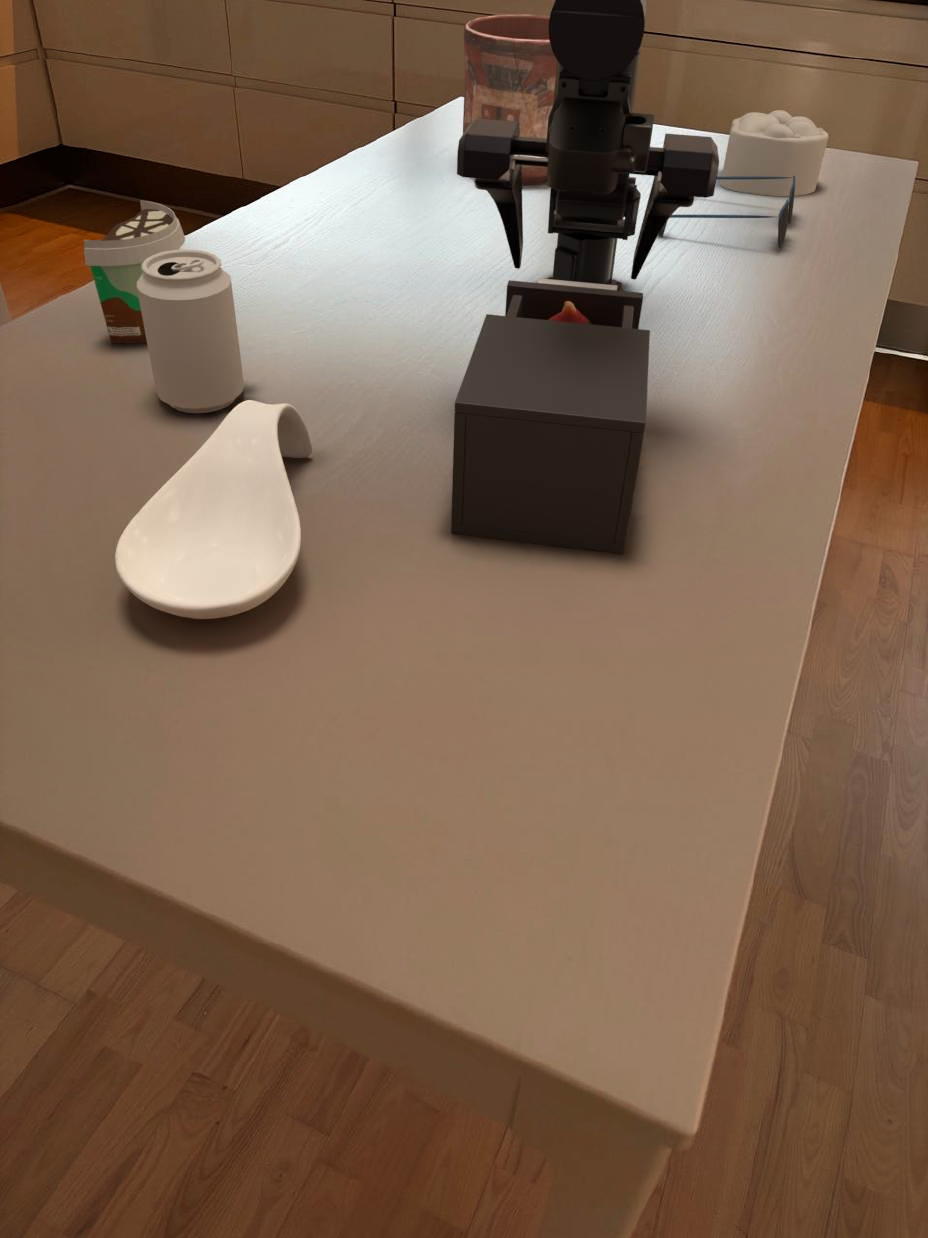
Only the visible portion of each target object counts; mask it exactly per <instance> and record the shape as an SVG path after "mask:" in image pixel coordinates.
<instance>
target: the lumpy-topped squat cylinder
mask: <svg viewBox="0 0 928 1238" xmlns="http://www.w3.org/2000/svg"><path fill="white" fill-rule="evenodd" d="M728 136H729V137H728V141H727V145H726V146H727V147H726V152H725V156H724V157H725V158H724V163H723V167H722V168H723V169H722V173H721V176H770V177H791V178H785V179H720V183H719V185H720V186H721V187H722V188H724V189H727V190H730V191H733V192H739V193H746V194H752V195H762V196H772V197H789V195H790V190H791V187H792V184H793V179H794V178H793V176H795V192H794V197H796V196H797V197H798V196H806V195H809V194H812V193H814V192H815V191H816V188H817V185H818V180H819V176H820V173H821V169H822V166H823V159H824V156H825V152H826V149H827V144H828V141H829V133H828V132H827V131H825V130H824V128H822V127H817V126H816V124H815V123H814V122H813V121H812V120H811V119H810V118H808V117H805V116H802V115H801V116H792V115H791V114H790V113H789V112H787V111H785V110H783V109H782V110H781V109H778V110H773V111H771V112H770V113H763V112H755V111H754V112H753V111H752V112H748V113H745V114H744V115H742V116H741V117H738V118H735V119H733V120H732V122H731V127H730V131H729V135H728Z"/></svg>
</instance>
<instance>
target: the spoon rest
mask: <svg viewBox="0 0 928 1238" xmlns="http://www.w3.org/2000/svg"><path fill="white" fill-rule="evenodd" d="M312 452H313V448H312V442H311V438H310V434H309V431H308V429H307V426H306V423H305V421H304V419H303V418H302V416H301V414H300V412H299V411H298V410H297V409H296V407H294V406H293V405H292V404H290V403H283V402H282V403H276V404H269V403H264V402H260V401H258V400H253V399H247V400H244V401H242V402H239V403H238V404H236V406H235V407H233V408H232V410H231V411H230V412H229V413H227V415H226V416H225V417H224V419H223V420H222V421H221V423H220V424H219V425H218V426H217V428H216V429H215V430H214V432H213V433H212V434H211V435H210V436H209V437H208V438H207V440H206V441H205V442H204V443H203V444H202V445H201V447H200V448H199V449H198V450H197V451H196V452H195V453H194V454H193V455H192V456H191V457H190V458H189V459H188V460H187V461H186V462H185V463H184V464H183V466H181V468H179V469H178V470H177V471H176V473H174V474H173V476H171V477H170V478H169V479H168V480H167V481H166V482H165V483H164V484H163V485H162V486H161V488H159V489H158V490H157V491H156V493H154V494H153V496H152V497H151V498H150V499H148V501H146V503H145V504H143V506H142V507H141V508H140V510H139V511H138V512H137V513H136V514H135V515H134V517H132V519H130V521H129V523H128V524H127V525H126V526H125V528H124V530H123V532H122V533H121V536H120V537H119V539H118V541H117V544H116V549H115V554H114V563H115V570H116V572H117V575H118V577H119V579H120V580H121V583H122V584H123V585H124V586H125V588H126V589H127V591H129V592H130V593H131V594H132V595H133V596H135V597H136V598H137V599H139V600H140V602H143V603H144V604H147V606H150V607H152V608H154V609H156V610H158V611H161V612H163V613H167V614H170V615H174V616H176V617H182V618H187V619H195V620H210V619H211V620H212V619H221V618H227V617H231V616H235V615H238V614H243V613H245V612H248V611H250V610H252V609H254V608H256V607H258V606H260V605H261V604H263V603H265V602H266V601H267V600H269V599H270V598H272V596H274V595H275V594H276V593H277V592H278V591H279V590H280V589H281V588H282V586H283V585H284V584H285V583H286V581H287V580H288V578H289V577H290V576H291V573H292V572H293V570H294V568H295V567H296V564H297V562H298V559H299V556H300V551H301V545H302V529H301V520H300V516H299V511H298V508H297V504H296V500H295V497H294V494H293V489H292V487H291V483H290V481H289V478H288V473H287V471H286V467H285V464H284V460H283V458H291V459H304V458H305V459H306V458H308V457H310V456H311V455H312Z"/></svg>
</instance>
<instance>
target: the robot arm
mask: <svg viewBox="0 0 928 1238" xmlns="http://www.w3.org/2000/svg"><path fill="white" fill-rule="evenodd" d="M552 5H553V6H552V8H551V11H550V14H549V16H550V18H549V26H548V27H549V41H550V44H551V48H552V51H553V53H554V55H555V57H556V59H557V66H556V78H555V90H554V102H553V107H552V109H551V112H550V114H549V117H548V128H547V139H545V138H532V137H520V126H519V122H513V121H500V120H488V119H475V120H474V121H473V122H472V123H471V124H470V125H469V126H468V127H467V128H466V130H465V132H464V133H463V132H462V135H461V137H460V138H459V140H458V145H457V153H456V158H457V159H456V175H457V176H460V177H462V178H467V179H474V187H475V188H476V189H477V190H479V191H480V190H481V191H486V192H487V193H488V194H489V196H490V197H491V198H492V201H493V202H494V204H495V207H496V209H497V211H498V213H499V216H500V219H501V222H502V225H503V229H504V234H505V236H506V240H507V243H508V249H509V251H510V256H511V260H512V263H513V267H514V268H515V269H517V270H519V269H521V266H522V261H523V260H522V259H523V250H524V225H523V224H524V221H523V217H524V216H523V215H524V214H523V185H522V165H529V166H541V167H548V168H547V183H546V184H547V185H548V187H550V191H549V206H548V207H549V208H548V223H547V224H548V226H547V234H557V241H556V247H555V248H554V257H553V267H552V276H550V277H547V278H546V279H552V280H563V281H573V282H584V283H595V284H605V285H616V286H617V290H618V291H620V290H622V289H623V285H624V283H623V282H622V281H619V280H616V279H613V275H614V270H615V269H614V267H615V260H616V253H617V252H616V250H617V245H618V240H619V239H620V240H622V241H628V239H629V237H633V236H635V234H636V228H637V221H638V215H639V210H640V209H639V208H640V202H641V192H640V191H639V190H638V185H637V184H636V181H637V177H634V176H633V177H632V176H630V175H639V176H651V177H653V179H652V184H651V188H650V192H649V196H648V200H647V204H646V208H645V210H644V215H643V218H642V222H641V226H640V230H639V233H638V238H637V241H636V244H635V249H634V253H633V260H632V266H631V272H630V273H631V274H630V279H631V280H637V278H638V276H639V274H640V272H641V270H642V268H643V266H644V265H645V262H646V260H647V258H648V256H649V254H650V253H651V250H652V247H653V246H654V243H655V242H656V240H657V238H658V237H659V236H658V234H659V232H660V231H661V229H662V228H663V226H664V225H665V223H666V222H667V223H668V221H669V219H670V218H669V217H670V216H671V215H674V214H675V212H676V211H677V210H678V209H679V208H690V207H692V206H693V205H694V201H695V198H705V199H706V198H710V197H714V195H715V190H716V185H717V180H718V179H717V176H718V174H719V166H720V156H719V150H718V149H719V148H718V145H717V143H716V142H715V141H714V139H713V138H712V136H702V135H690V134H680V133H679V134H677V133H665V134H664V139H663V145H662V147H655V146H651V141H652V136H653V128H654V122H655V121H654V120H655V114H651V113H639V112H634V105H635V104H634V103H635V98H636V91H637V90H636V89H637V82H638V75H639V69H640V59H641V51H642V45H643V38H644V34H645V28H646V27H645V26H646V16H647V6H648V0H554V3H553V4H552ZM667 220H668V221H667Z"/></svg>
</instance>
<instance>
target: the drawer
mask: <svg viewBox="0 0 928 1238" xmlns="http://www.w3.org/2000/svg"><path fill="white" fill-rule="evenodd" d="M505 298H506V299H505V311H504V316H510V317H520V318H530V319H540V320H549V319H550V318H551V317H553V316H555V315H556V314H558V313H560V312H562V310H563V307H564V303H565V301H570V302H572V303H573V304H574V307H575V308H576V309H577V310H578V311H579V312H580V313H581V314H582V315H583V316H585V317H586V318H587V319H588V320H589V321H590V323H591V324H592V325H602V326H612V327H622V328H632V329H640V328H639V327H640V320H641V315H642V306H643V300H644V293H643V292H639V291H626V290H617V286H616V285H605V284H595V283H584V282H573V281H563V280H552V279H547V278H540V277H539V278H538V279H537V282H533V281H532V282H531V281H521V280H511V279H510V280H508V281H507V285H506V295H505Z"/></svg>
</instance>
